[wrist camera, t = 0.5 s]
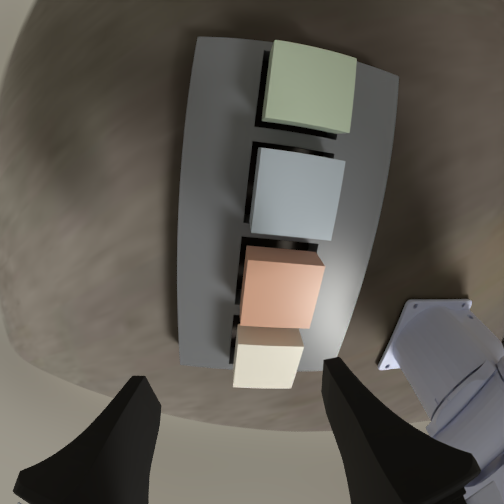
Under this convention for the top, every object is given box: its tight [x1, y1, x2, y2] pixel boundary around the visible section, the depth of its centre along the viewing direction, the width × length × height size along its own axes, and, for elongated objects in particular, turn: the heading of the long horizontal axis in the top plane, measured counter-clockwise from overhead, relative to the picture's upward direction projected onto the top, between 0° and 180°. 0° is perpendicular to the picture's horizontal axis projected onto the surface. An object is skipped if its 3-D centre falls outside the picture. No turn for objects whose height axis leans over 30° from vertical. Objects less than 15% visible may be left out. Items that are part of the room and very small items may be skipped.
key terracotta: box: [240, 246, 325, 329], centre depth 16 cm, size 4×4×3 cm
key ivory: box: [233, 324, 304, 388], centre depth 18 cm, size 4×4×3 cm
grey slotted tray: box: [177, 37, 399, 371], centre depth 17 cm, size 12×22×2 cm, turn 173°
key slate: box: [249, 147, 346, 241], centre depth 14 cm, size 4×4×3 cm
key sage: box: [262, 40, 357, 134], centre depth 12 cm, size 4×4×3 cm
